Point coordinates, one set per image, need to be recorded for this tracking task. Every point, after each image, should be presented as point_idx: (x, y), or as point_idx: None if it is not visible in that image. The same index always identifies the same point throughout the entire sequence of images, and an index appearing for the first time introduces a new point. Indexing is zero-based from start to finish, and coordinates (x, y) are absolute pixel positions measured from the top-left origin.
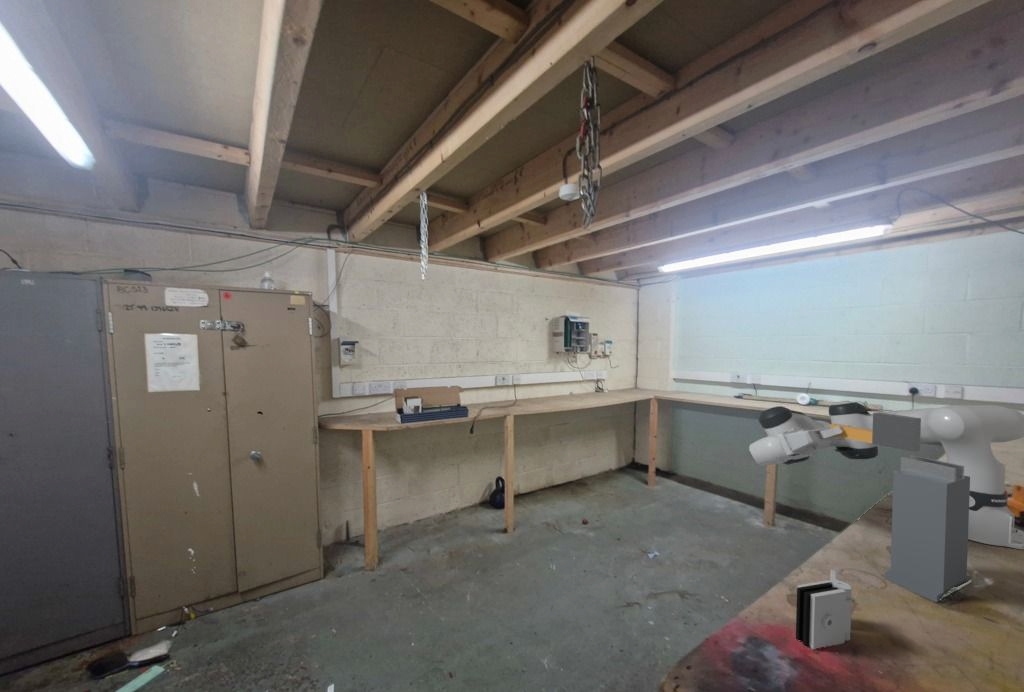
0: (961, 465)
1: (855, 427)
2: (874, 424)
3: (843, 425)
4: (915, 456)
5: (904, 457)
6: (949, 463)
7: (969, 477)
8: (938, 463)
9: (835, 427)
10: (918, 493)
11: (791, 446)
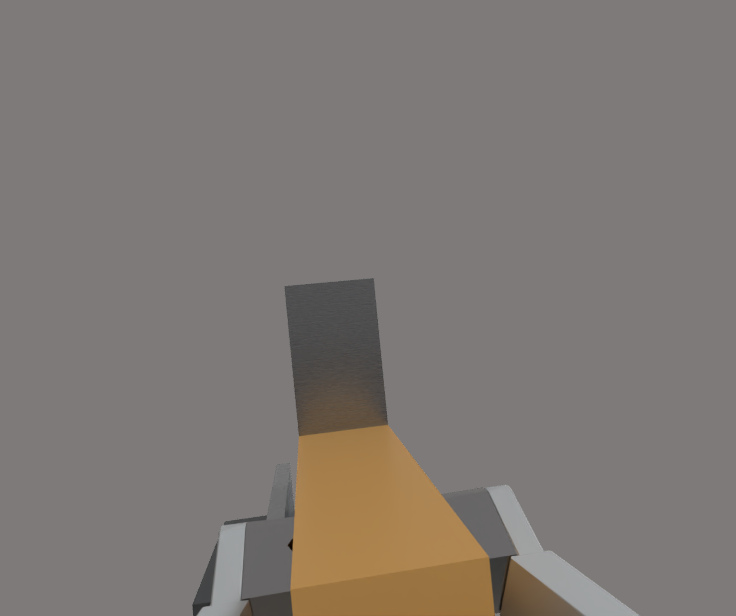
0: (278, 466)
1: (323, 478)
2: (379, 362)
3: (336, 522)
4: (283, 512)
5: None
6: (286, 473)
7: (230, 522)
8: (288, 493)
9: (523, 513)
10: None
11: None
